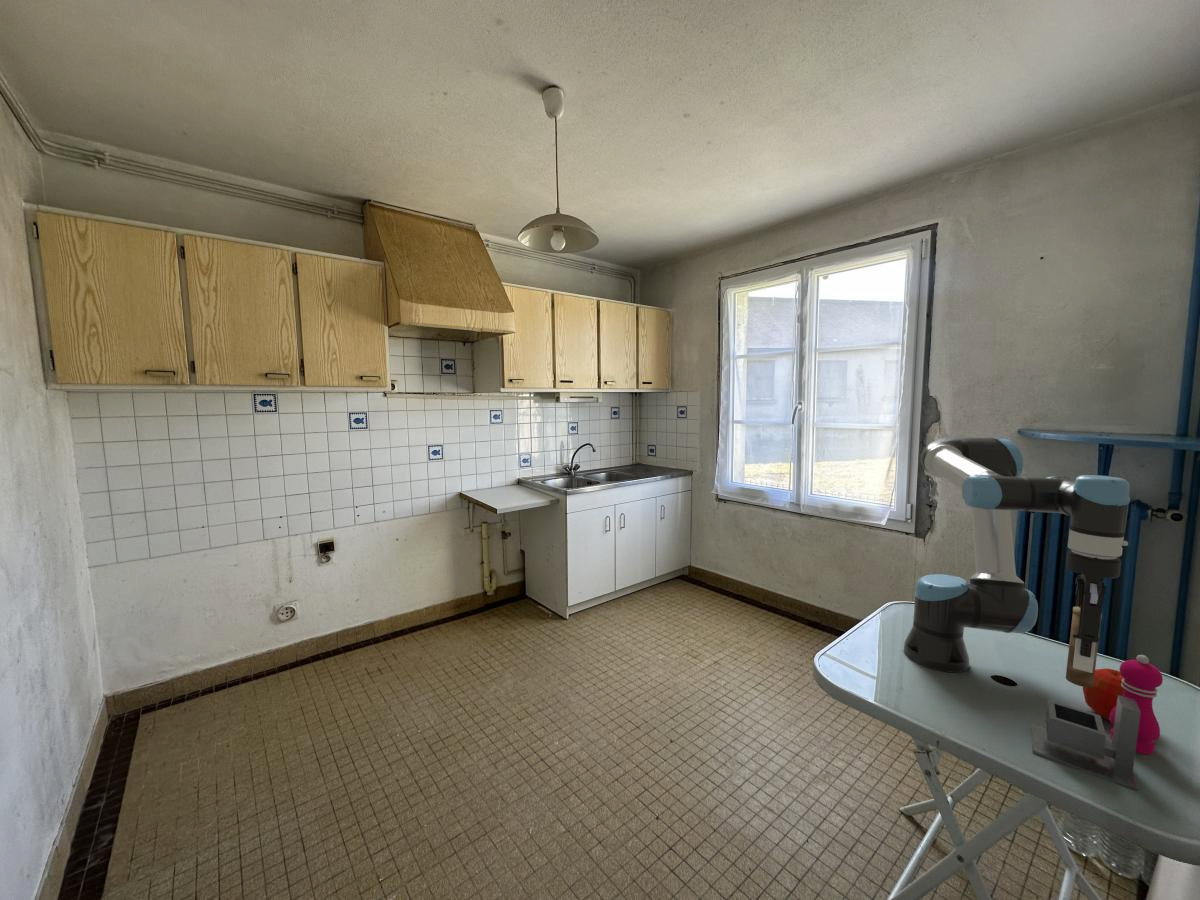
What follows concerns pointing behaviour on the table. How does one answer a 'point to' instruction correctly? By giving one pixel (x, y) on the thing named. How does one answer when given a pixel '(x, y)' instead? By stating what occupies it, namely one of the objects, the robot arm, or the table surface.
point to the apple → (1104, 691)
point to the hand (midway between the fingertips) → (1081, 664)
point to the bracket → (1090, 740)
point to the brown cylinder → (1071, 673)
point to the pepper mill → (1141, 699)
